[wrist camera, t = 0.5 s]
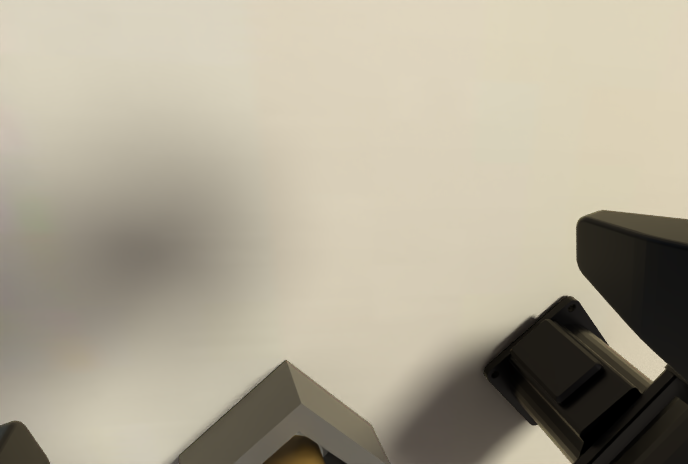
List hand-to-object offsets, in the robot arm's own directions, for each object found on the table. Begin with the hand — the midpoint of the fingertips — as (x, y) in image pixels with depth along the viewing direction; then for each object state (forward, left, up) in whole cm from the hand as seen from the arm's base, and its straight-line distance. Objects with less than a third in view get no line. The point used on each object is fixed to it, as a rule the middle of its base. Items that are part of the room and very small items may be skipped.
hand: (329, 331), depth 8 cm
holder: (-13, +9, -14) cm, 21 cm away
